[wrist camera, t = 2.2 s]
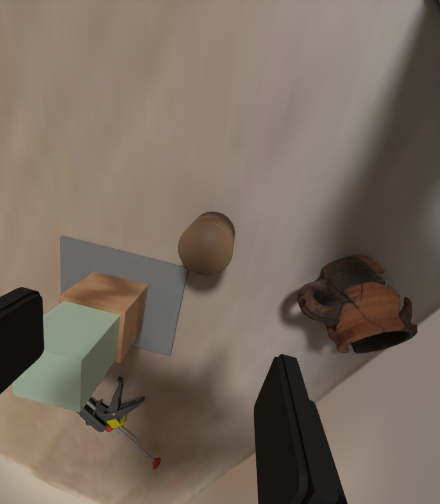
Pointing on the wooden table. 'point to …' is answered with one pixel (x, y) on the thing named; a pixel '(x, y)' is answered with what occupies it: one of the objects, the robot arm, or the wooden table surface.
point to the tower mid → (71, 356)
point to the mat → (135, 269)
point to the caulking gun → (112, 417)
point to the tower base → (113, 303)
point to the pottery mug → (358, 306)
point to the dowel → (207, 244)
